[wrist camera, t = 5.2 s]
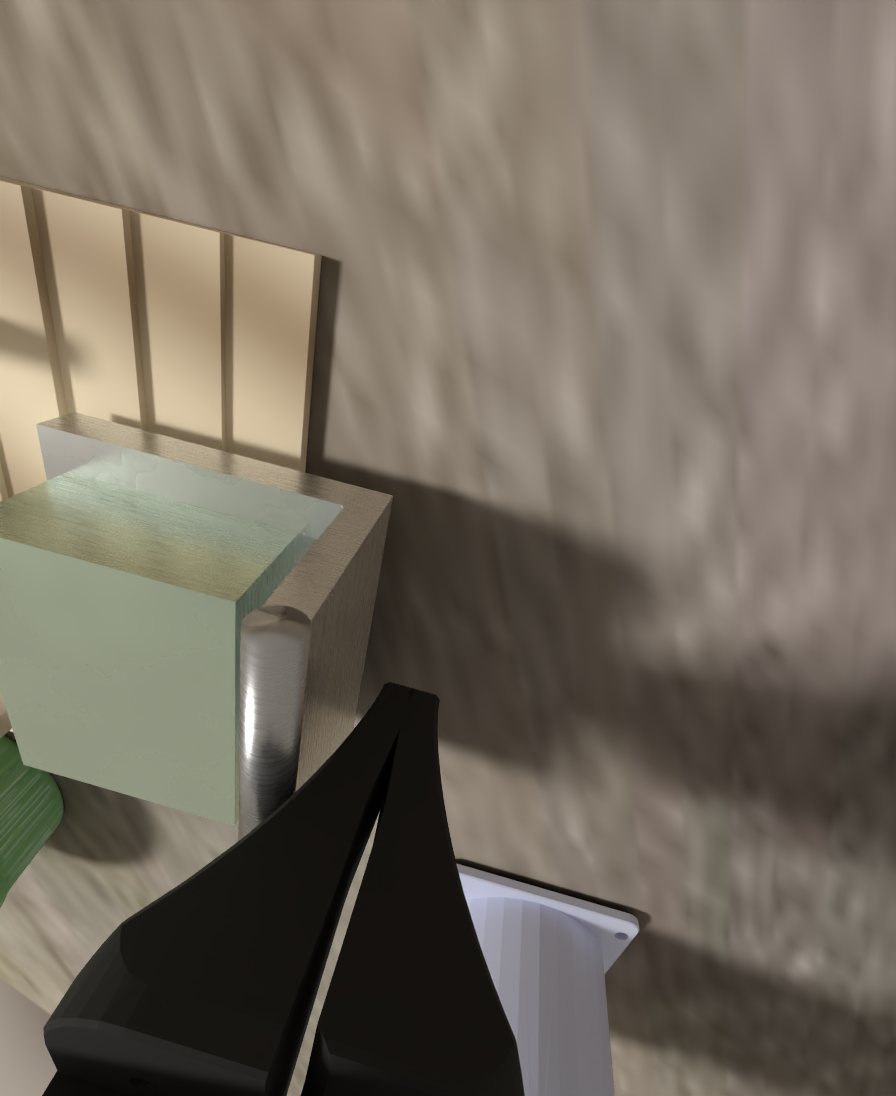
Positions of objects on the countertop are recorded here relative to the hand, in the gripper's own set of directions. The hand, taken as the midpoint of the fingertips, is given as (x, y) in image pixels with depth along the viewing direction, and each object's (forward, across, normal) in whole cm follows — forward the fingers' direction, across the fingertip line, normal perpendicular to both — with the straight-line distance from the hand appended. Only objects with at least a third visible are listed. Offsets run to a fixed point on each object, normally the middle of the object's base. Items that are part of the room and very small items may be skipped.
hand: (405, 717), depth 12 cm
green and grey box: (+3, +6, 0) cm, 6 cm away
